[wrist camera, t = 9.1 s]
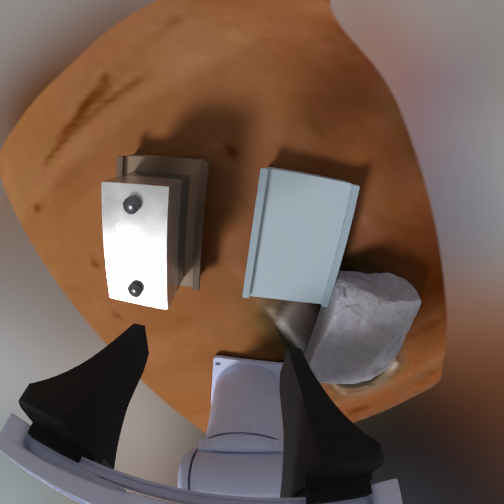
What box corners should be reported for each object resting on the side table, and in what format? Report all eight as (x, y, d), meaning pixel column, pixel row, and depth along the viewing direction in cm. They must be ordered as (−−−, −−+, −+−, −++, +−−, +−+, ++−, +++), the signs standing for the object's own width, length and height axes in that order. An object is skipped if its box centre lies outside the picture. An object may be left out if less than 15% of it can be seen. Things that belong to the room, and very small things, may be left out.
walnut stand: (213, 159, 19) (208, 161, 17) (203, 279, 23) (198, 290, 21) (128, 154, 19) (117, 156, 17) (129, 267, 23) (120, 277, 21)
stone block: (407, 266, 24) (322, 263, 22) (436, 292, 20) (348, 297, 18) (368, 352, 29) (292, 361, 27) (385, 380, 25) (304, 396, 23)
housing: (184, 276, 21) (166, 312, 17) (134, 268, 21) (107, 299, 17) (190, 175, 18) (167, 187, 14) (134, 171, 18) (99, 182, 14)
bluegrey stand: (351, 182, 19) (359, 186, 18) (323, 295, 23) (327, 307, 21) (260, 165, 19) (260, 167, 17) (243, 285, 23) (242, 297, 21)
